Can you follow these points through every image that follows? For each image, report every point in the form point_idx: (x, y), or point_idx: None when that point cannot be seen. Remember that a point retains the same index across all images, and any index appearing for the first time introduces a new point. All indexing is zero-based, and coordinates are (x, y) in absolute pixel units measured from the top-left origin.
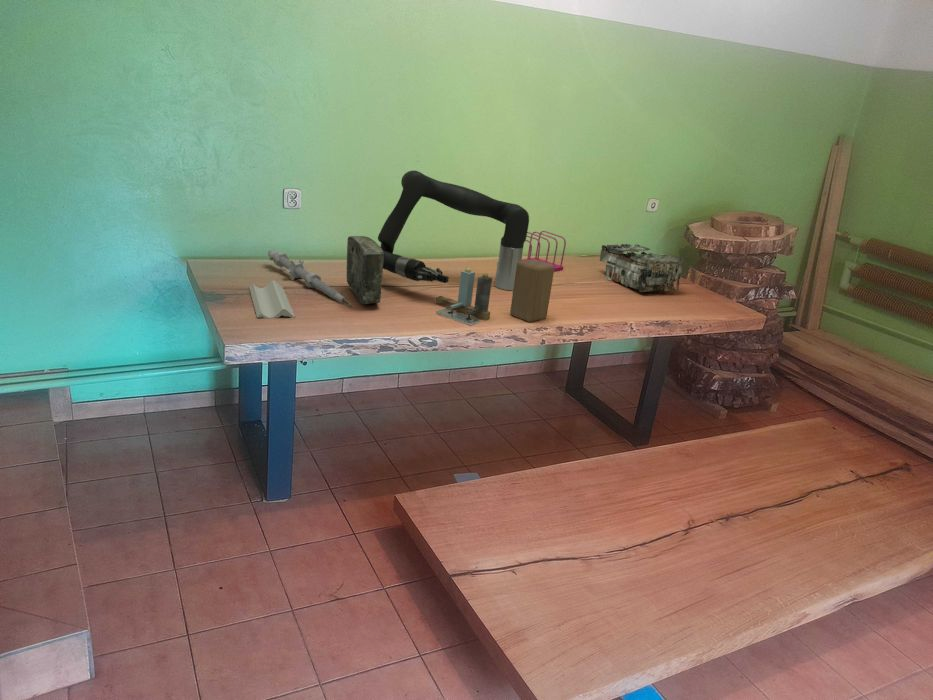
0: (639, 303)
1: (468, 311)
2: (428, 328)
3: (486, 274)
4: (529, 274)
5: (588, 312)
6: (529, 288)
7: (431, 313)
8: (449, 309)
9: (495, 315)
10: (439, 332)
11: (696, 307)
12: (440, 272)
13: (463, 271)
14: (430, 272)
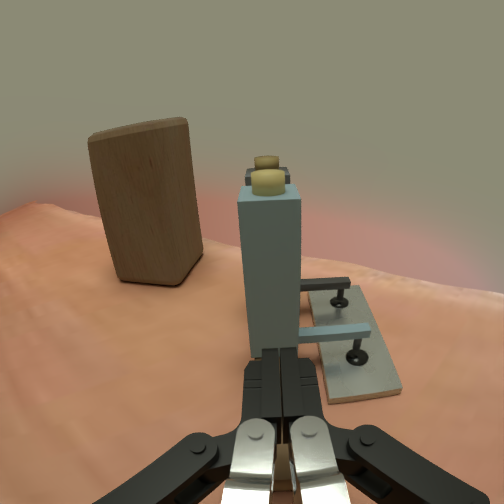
0: (11, 235)
1: (347, 280)
2: (479, 315)
3: (267, 156)
4: (182, 140)
5: (71, 241)
6: (189, 176)
7: (416, 401)
8: (331, 382)
9: (215, 301)
10: (462, 293)
11: (15, 217)
12: (209, 447)
13: (288, 196)
14: (344, 485)
